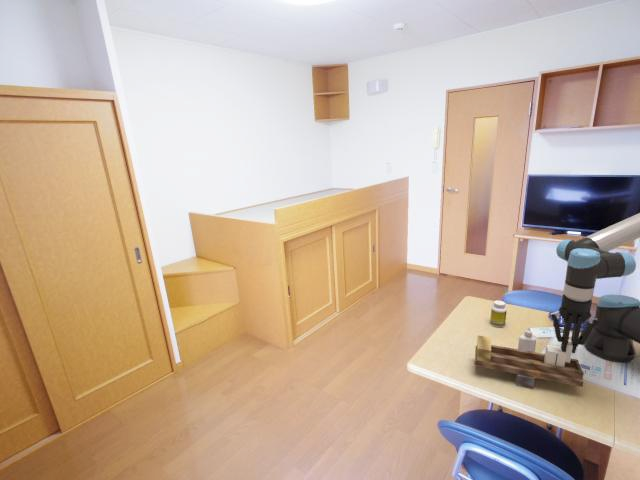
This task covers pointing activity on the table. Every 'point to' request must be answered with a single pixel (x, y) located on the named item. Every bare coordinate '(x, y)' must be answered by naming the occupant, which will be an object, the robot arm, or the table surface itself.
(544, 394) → the table surface
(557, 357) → the block
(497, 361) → the beam
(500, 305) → the pill bottle
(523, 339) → the white rectangular bottle
